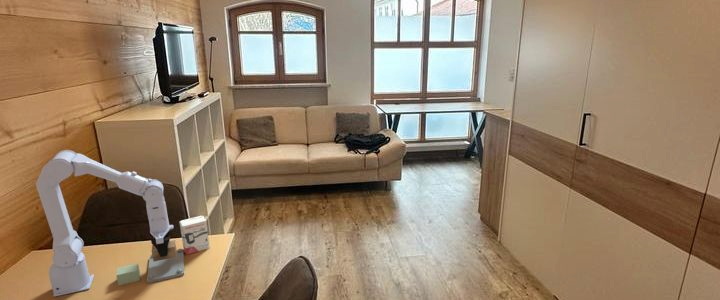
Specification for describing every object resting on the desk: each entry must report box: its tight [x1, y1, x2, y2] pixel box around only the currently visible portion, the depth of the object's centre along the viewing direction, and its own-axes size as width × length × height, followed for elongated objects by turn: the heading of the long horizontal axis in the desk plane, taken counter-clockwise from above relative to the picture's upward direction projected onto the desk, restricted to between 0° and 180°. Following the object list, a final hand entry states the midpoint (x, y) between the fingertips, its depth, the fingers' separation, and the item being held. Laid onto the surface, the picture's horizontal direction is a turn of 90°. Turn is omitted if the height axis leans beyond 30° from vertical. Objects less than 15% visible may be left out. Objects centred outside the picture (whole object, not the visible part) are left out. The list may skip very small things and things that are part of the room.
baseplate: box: [146, 248, 185, 284], centre depth 136 cm, size 11×16×2 cm
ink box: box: [178, 215, 211, 256], centre depth 145 cm, size 8×5×12 cm, turn 123°
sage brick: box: [115, 263, 141, 286], centre depth 129 cm, size 6×4×4 cm
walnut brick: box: [151, 239, 177, 262], centre depth 135 cm, size 7×4×4 cm, turn 113°
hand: (164, 252), depth 135 cm, fingers closed on walnut brick, 4 cm apart
